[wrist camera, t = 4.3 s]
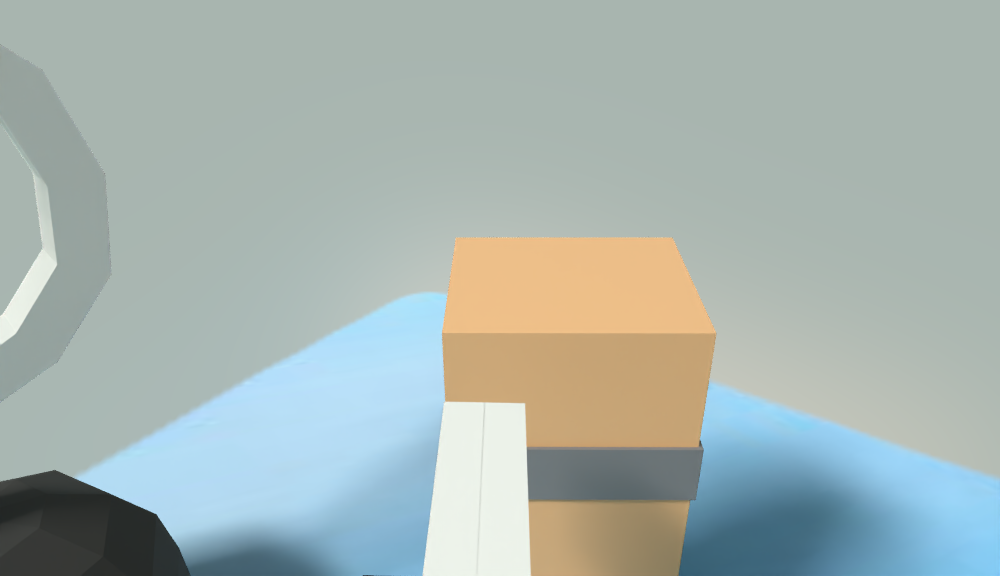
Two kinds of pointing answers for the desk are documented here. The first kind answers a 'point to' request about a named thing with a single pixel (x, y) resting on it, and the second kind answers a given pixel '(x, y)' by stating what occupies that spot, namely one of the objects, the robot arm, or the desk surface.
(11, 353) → the hook
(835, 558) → the desk surface
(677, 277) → the tan box with band
